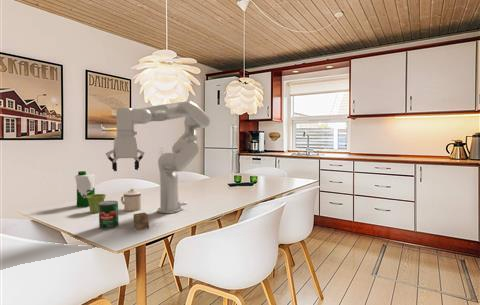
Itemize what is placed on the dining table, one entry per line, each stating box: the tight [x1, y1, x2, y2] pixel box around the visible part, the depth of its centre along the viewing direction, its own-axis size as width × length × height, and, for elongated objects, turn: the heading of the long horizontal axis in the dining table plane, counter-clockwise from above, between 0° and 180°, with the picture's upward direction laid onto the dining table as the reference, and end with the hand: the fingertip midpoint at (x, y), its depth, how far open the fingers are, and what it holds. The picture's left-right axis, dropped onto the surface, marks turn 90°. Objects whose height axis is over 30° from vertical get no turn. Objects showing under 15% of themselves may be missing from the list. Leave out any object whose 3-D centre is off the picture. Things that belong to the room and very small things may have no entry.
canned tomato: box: [98, 200, 120, 231], centre depth 125 cm, size 8×8×11 cm
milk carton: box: [74, 170, 96, 208], centre depth 164 cm, size 9×9×20 cm
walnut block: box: [133, 211, 150, 231], centre depth 124 cm, size 5×5×6 cm
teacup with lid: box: [120, 188, 142, 212], centre depth 155 cm, size 12×9×12 cm
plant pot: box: [86, 193, 107, 214], centre depth 150 cm, size 9×9×9 cm
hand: (126, 170), depth 132 cm, fingers open, 9 cm apart
